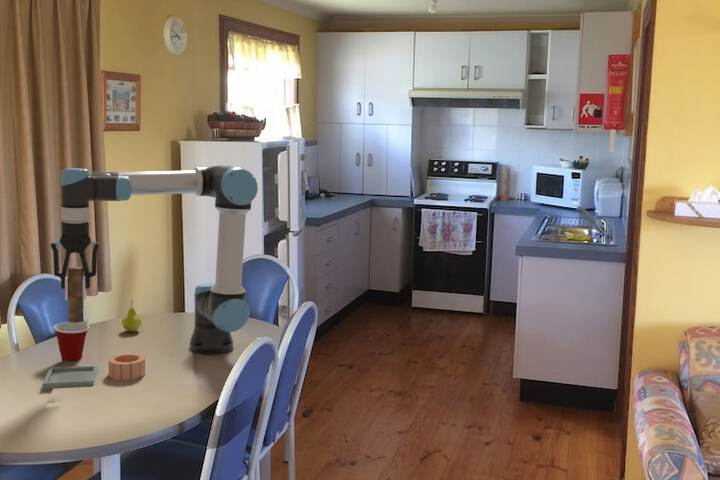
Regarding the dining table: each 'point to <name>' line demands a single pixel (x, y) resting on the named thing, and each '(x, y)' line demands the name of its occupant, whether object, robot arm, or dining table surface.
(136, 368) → the pink brick ring
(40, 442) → the dining table surface
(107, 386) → the dining table surface
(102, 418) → the dining table surface
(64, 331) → the plastic cup
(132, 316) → the fruit
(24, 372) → the dining table surface
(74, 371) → the dish
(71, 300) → the dowel
